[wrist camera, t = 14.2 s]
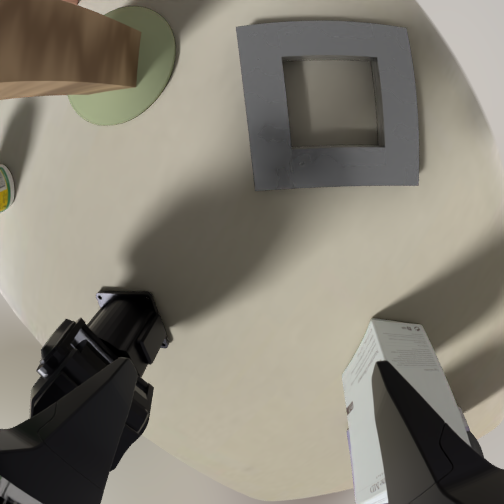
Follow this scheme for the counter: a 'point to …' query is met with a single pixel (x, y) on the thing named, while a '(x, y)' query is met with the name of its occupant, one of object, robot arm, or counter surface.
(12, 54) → the walnut block
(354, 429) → the skincare box
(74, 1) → the terracotta cubby
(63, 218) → the counter surface
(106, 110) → the olive mat
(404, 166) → the hole plate
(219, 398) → the counter surface
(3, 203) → the supplement bottle
